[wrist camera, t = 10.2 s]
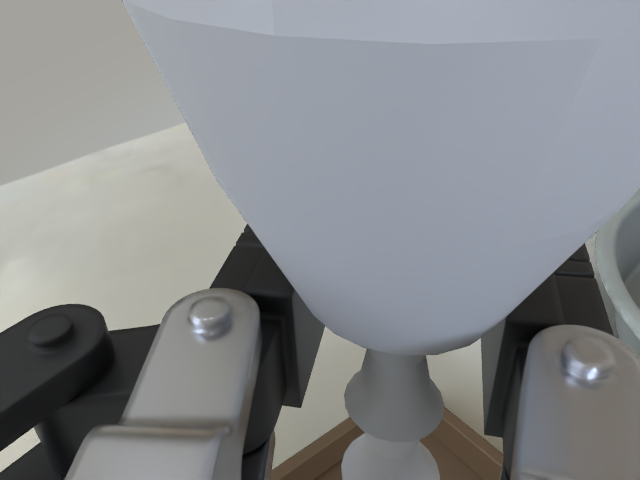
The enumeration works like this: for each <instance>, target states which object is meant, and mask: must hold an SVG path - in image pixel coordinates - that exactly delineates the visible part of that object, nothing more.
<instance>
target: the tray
mask: <svg viewBox="0 0 640 480" xmlns="http://www.w3.org/2000/svg"><path fill="white" fill-rule="evenodd" d="M362 434H365V432H364V431H363V430H362V429H361V428H360V427H359V426H358V425H357V424H356V423H355V422H354V421H353V420H352V419H351V417H349V418H348V419H346V420H345V421H343V422H342V423H340V424H339V425H337V426H336V427H335V428H333V429H332V430H330V431H329V432H327V433H326V434H324V435H323V436H321V437H320V438H318V439H317V440H316V441H314V442H313V443H311V444H310V445H308V446H307V447H305V448H304V449H302V450H301V451H299V452H298V453H296V454H295V455H294V456H292V457H291V458H289V459H288V460H286V461H285V462H283V463H282V464H280V465H279V466H277V467H276V468H275V469H273V470H272V471H271V476H270V480H343V479H342V469H341V464H342V460H343V456H344V453H345V451H346V450H347V448H348V447H349V445H350V444H351V443H352V442H353V441H354V440H355V439H357V438H358V437H360V436H361V435H362ZM420 442H421V443H422V444H423V445H424V446H425V447H426V448H427V449H428V450H429V451H430V453H431V454H432V456H433V458H434V459H435V461H436V463H437V466H438V470H439V474H440V480H499V477H500V472H501V468H502V464H503V459H504V455H503V454H502V453H501V452H500V451H498V450H497V449H496V448H495V447H493V446H492V445H491V444H490V443H488V442H487V441H486V440H485V439H484V438H482V437H481V436H480V435H479V434H477V433H476V432H475V431H474V430H472V429H471V428H470V427H469V426H467V425H466V424H465V423H464V422H462V421H461V420H460V419H459V418H458V417H456V416H455V415H454V414H453V413H451V412H450V411H449V410H448V409H446V408H445V407H444V412H443V418H442V420H441V422H440V423H439V425H438V427H437V429H435V430H434V431H433V432H431V433H430V434H429V435H427V436H426V437H425V438H422V439H420Z"/></svg>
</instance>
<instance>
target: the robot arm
mask: <svg viewBox="0 0 640 480" xmlns="http://www.w3.org/2000/svg"><path fill="white" fill-rule="evenodd" d="M324 328H325V325H324V324H323V323H322V322H321V321H320V320H318V319H317V318H316V317H315V316H314V315H313V314H312V313H311V311H310V310H309V308H308V307H307V306H306V304H305V303H304V301H303V300H302V299H301V297H300V296H299V294H298V293H297V292H296V290H295V289H294V287H293V286H292V285H291V283H290V282H289V280H288V279H287V278H286V276H285V275H284V274H283V272H282V271H281V269H280V268H279V267H278V265H277V264H276V262H275V261H274V260H273V258H272V257H271V255H270V254H269V253H268V251H267V250H266V248H265V247H264V246H263V244H262V243H261V242H260V240H259V239H258V237H257V236H256V235H255V233H254V232H253V230H252V229H251V228H250V226H249V225H248V224H247V225H246V227H245V229H244V233H242V234H241V236H240V237H239V239H238V241H237V242H236V246H234V247H233V249H232V251H231V252H230V254H229V256H228V258H227V259H226V261H225V263H224V264H223V266H222V268H221V269H220V271H219V273H218V275H217V276H216V278H215V280H214V281H213V283H212V285H211V286H210V288H209V289H206V290H202V291H198V292H195V293H192V294H190V295H188V296H186V297H184V298H182V299H180V300H179V301H177V302H176V303H175V304H174V305H172V306H171V307H170V308H169V310H168V311H167V312H166V314H165V316H164V317H163V320H162V322H161V324H158V325H153V326H146V327H138V328H130V329H121V330H113V331H108V329H107V326H106V323H105V320H104V317H103V315H102V314H101V313H100V312H99V311H98V310H96V309H95V308H92V307H90V306H86V305H81V304H66V305H59V306H54V307H50V308H47V309H44V310H41V311H39V312H37V313H34V314H32V315H31V316H29V317H27V318H25V319H23V320H22V321H20V322H18V323H17V324H15V325H13V326H11V327H10V328H8V329H6V330H5V331H3V332H1V333H0V451H2V450H3V449H4V448H6V447H7V446H8V445H10V444H11V443H13V442H14V441H15V440H17V439H18V438H19V437H21V436H22V435H24V434H25V433H26V432H28V431H29V430H30V429H32V428H33V427H34V429H35V431H36V433H37V435H38V437H39V439H40V441H41V442H40V443H39V444H37V445H36V446H35V447H33V448H32V449H31V450H29V451H28V452H27V453H25V454H24V455H23V456H22V457H20V458H19V459H18V460H16V461H15V462H14V463H12V464H11V465H10V466H8V467H7V468H6V469H4V470H3V471H2V472H0V480H270V476H271V469H272V462H273V454H274V447H275V432H274V428H275V425H276V422H277V419H278V416H279V413H280V410H281V407H282V405H284V406H291V407H298V408H301V406H302V402H303V399H304V395H305V392H306V389H307V385H308V382H309V379H310V375H311V372H312V368H313V365H314V362H315V358H316V355H317V351H318V348H319V345H320V341H321V338H322V335H323V331H324ZM481 351H482V380H483V409H484V435H489V436H496V437H503V452H504V459H503V464H502V468H501V472H500V477H499V480H640V357H639V356H638V354H637V353H636V352H635V351H634V350H633V349H632V348H630V347H629V346H628V345H627V344H625V343H624V342H623V341H621V340H619V339H618V338H616V337H614V335H613V332H612V329H611V326H610V323H609V319H608V316H607V313H606V310H605V307H604V303H603V300H602V297H601V294H600V291H599V287H598V284H597V281H596V279H594V271H593V268H592V265H591V262H589V255H588V252H587V249H586V246H585V243H584V244H583V245H582V246H581V247H580V248H579V249H578V250H577V251H575V252H574V253H573V254H572V255H571V256H570V257H569V258H568V259H567V260H566V261H565V262H564V263H563V264H562V265H561V266H559V267H558V268H557V269H556V270H555V271H554V272H553V273H552V274H551V275H550V276H549V277H548V278H547V279H546V280H545V281H543V282H542V283H541V284H540V285H539V286H538V287H537V288H536V289H535V290H534V291H533V292H532V293H531V294H530V295H529V296H528V297H526V298H525V299H524V300H523V301H522V302H521V303H520V304H519V305H518V306H517V307H516V308H515V309H514V310H513V311H512V312H511V313H509V314H508V315H507V316H506V317H505V318H504V319H503V320H502V321H501V322H500V323H499V324H498V325H497V326H496V327H495V328H494V329H492V330H491V331H490V332H488V333H487V334H485V335H484V336H482V337H481Z"/></svg>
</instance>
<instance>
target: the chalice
mask: <svg viewBox="0 0 640 480" xmlns="http://www.w3.org/2000/svg"><path fill="white" fill-rule="evenodd" d="M122 1H123V3H124V5H125V7H126V9H127V11H128V13H129V15H130V17H131V18H132V20H133V22H134V24H135V26H136V28H137V30H138V32H139V34H140V35H141V37H142V39H143V41H144V43H145V45H146V47H147V49H148V51H149V53H150V55H151V56H152V58H153V60H154V62H155V64H156V66H157V68H158V70H159V71H160V73H161V75H162V77H163V79H164V81H165V83H166V85H167V87H168V88H169V91H170V92H171V94H172V96H173V98H174V100H175V102H176V104H177V106H178V108H179V109H180V111H181V113H182V115H183V117H184V119H185V121H186V123H187V125H188V127H189V129H190V130H191V132H192V134H193V136H194V138H195V140H196V142H197V144H198V146H199V148H200V149H201V151H202V153H203V155H204V157H205V159H206V161H207V163H208V165H209V167H210V168H211V170H212V172H213V174H214V176H215V178H216V180H217V182H218V183H219V184H220V186H221V187H222V189H223V190H224V191H225V193H226V194H227V196H228V197H229V198H230V200H231V201H232V203H233V204H234V205H235V207H236V208H237V209H238V211H239V212H240V214H241V215H242V216H243V218H244V219H245V221H246V222H247V223H248V225H249V226H250V228H251V229H252V230H253V232H254V233H255V235H256V236H257V237H258V239H259V240H260V242H261V243H262V244H263V246H264V247H265V248H266V250H267V251H268V253H269V254H270V255H271V257H272V258H273V260H274V261H275V262H276V264H277V265H278V267H279V268H280V269H281V271H282V272H283V274H284V275H285V276H286V278H287V279H288V280H289V282H290V283H291V285H292V286H293V287H294V289H295V290H296V292H297V293H298V294H299V296H300V297H301V299H302V300H303V301H304V303H305V304H306V306H307V307H308V308H309V310H310V311H311V313H312V314H313V315H314V316H315V317H316V318H317V319H318V320H320V321H321V322H322V323H323V324H324V325H325V326H326V327H327V328H329V329H330V330H331V331H332V332H333V333H334V334H336V335H339V336H341V337H343V338H345V339H347V340H349V341H351V342H353V343H355V344H357V345H360V346H362V347H364V348H367V351H366V354H365V358H364V361H363V365H362V368H361V370H360V371H359V372H357V373H356V374H355V375H354V376H353V378H352V379H351V380H350V381H349V383H348V384H347V388H346V391H345V395H344V397H345V406H346V409H347V411H348V413H349V415H350V417H351V419H352V420H353V421H354V422H355V423H356V424H357V425H358V426H359V427H360V428H361V429H362V430H363V431H364V432H365V434H362V435H361V436H360V437H358V438H357V439H355V440H354V441H353V442H352V443H351V444H350V445H349V447H348V448H347V450H346V451H345V453H344V456H343V460H342V464H341V469H342V479H343V480H440V474H439V470H438V466H437V463H436V461H435V459H434V458H433V456H432V454H431V453H430V451H429V450H428V449H427V448H426V447H425V446H424V445H423V444H422V443H421V442H420V439H422V438H425V437H426V436H427V435H429V434H430V433H431V432H433V431H434V430H435V429H437V427H438V425H439V423H440V422H441V420H442V418H443V412H444V402H443V399H442V395H441V392H440V391H439V389H438V388H437V387H436V385H435V384H434V382H433V381H432V380H431V379H430V377H429V371H428V365H427V360H426V355H438V354H441V353H445V352H448V351H452V350H456V349H459V348H463V347H466V346H469V345H471V344H472V343H474V342H475V341H477V340H478V339H480V338H481V337H482V336H484V335H485V334H487V333H488V332H490V331H491V330H492V329H494V328H495V327H496V326H497V325H498V324H499V323H500V322H501V321H502V320H503V319H504V318H505V317H506V316H507V315H508V314H509V313H511V312H512V311H513V310H514V309H515V308H516V307H517V306H518V305H519V304H520V303H521V302H522V301H523V300H524V299H525V298H526V297H528V296H529V295H530V294H531V293H532V292H533V291H534V290H535V289H536V288H537V287H538V286H539V285H540V284H541V283H542V282H543V281H545V280H546V279H547V278H548V277H549V276H550V275H551V274H552V273H553V272H554V271H555V270H556V269H557V268H558V267H559V266H561V265H562V264H563V263H564V262H565V261H566V260H567V259H568V258H569V257H570V256H571V255H572V254H573V253H574V252H575V251H577V250H578V249H579V248H580V247H581V246H582V245H583V244H584V243H585V242H586V241H587V240H588V239H589V238H590V237H591V236H593V235H594V234H595V233H596V232H597V231H598V230H599V229H600V228H601V227H602V226H603V225H604V224H605V223H606V222H607V221H608V220H610V219H611V218H612V217H613V216H614V215H615V214H616V213H617V212H618V211H619V210H620V209H621V208H622V207H623V206H624V205H626V204H627V203H628V202H629V201H630V199H631V198H632V197H633V196H634V194H635V193H636V192H637V191H638V189H639V188H640V0H122Z"/></svg>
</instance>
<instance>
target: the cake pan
mask: <svg viewBox="0 0 640 480" xmlns="http://www.w3.org/2000/svg"><path fill="white" fill-rule="evenodd" d="M595 248H596V250H595V255H596V262H597V266H598V270H599V274H600V277H601V280H602V283H603V285H604V287H605V290H606V292H607V294H608V296H609V298H610V300H611V302H612V304H613V306H614V307H615V325H616V330H617V334H618V338H619V340H621V341H623V342H624V343H625V344H627V345H628V346H629V347H630V348H632V349H633V350H634V351H635V352H636V353H637V354H638V356H639V357H640V188H639V189H638V191H637V192H636V193H635V194H634V196H633V197H632V198H631V199H630V201H629V202H628V203H627V204H626V205H624V206H623V207H622V208H621V209H620V210H619V211H618V212H617V213H616V214H615V215H614V216H613V217H612V218H611V219H610V220H608V221H607V222H606V223H605V224H604V225H603V226H602V227H601V228H600V229H599V230H598V231H597V236H596V240H595Z"/></svg>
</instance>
